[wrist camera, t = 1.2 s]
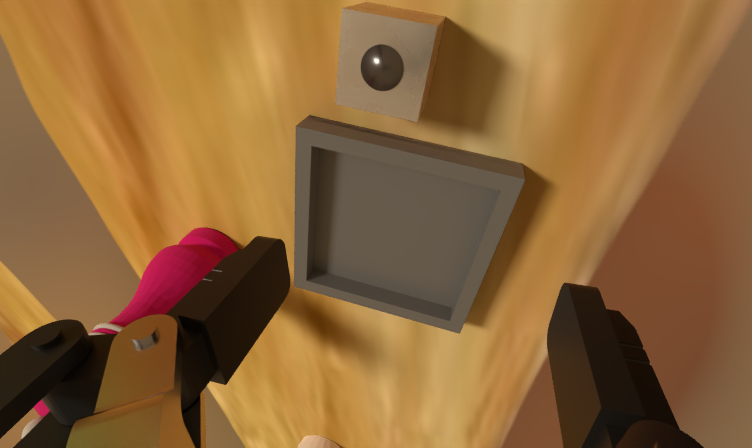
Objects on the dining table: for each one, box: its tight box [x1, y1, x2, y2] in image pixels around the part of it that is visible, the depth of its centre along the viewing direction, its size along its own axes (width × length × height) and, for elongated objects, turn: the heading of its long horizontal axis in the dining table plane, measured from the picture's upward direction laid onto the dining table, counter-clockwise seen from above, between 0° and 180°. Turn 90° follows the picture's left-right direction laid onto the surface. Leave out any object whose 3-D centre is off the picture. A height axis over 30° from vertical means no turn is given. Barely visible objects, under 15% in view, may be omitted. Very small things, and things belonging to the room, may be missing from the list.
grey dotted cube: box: [335, 2, 446, 122], centre depth 22 cm, size 5×5×5 cm
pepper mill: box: [22, 228, 238, 438], centre depth 31 cm, size 7×7×20 cm
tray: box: [294, 115, 525, 334], centre depth 31 cm, size 16×16×2 cm
